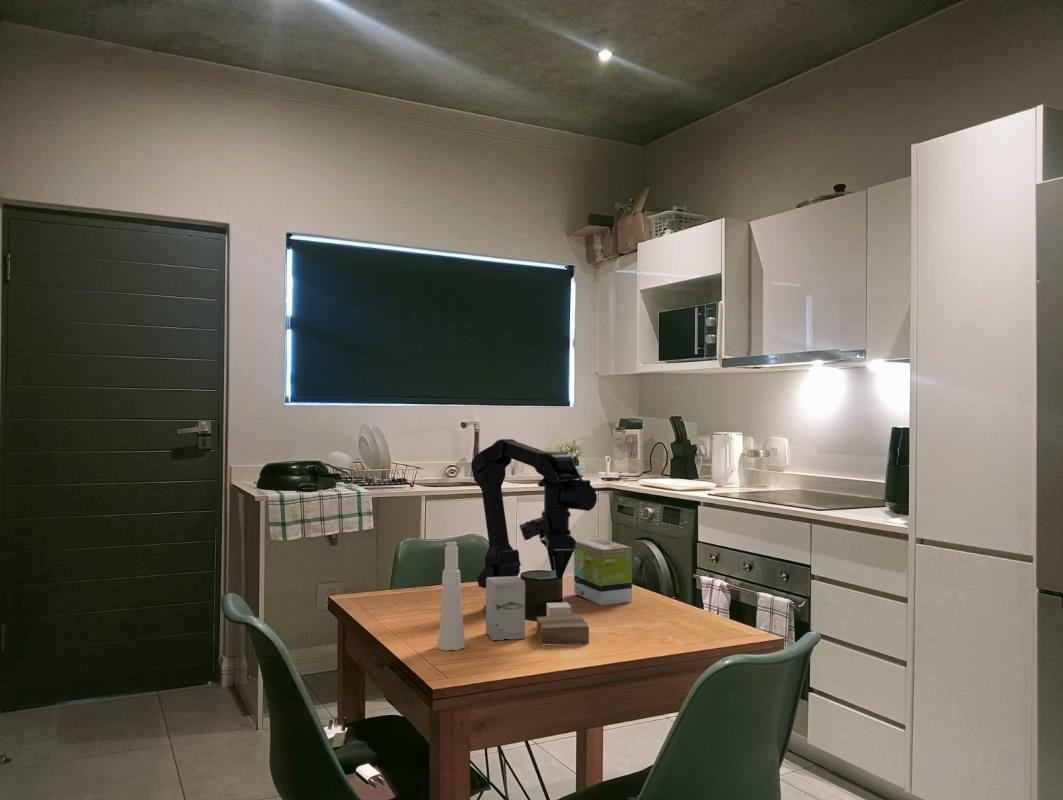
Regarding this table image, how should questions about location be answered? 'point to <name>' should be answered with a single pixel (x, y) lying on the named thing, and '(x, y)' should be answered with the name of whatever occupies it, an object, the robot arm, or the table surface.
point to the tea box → (603, 571)
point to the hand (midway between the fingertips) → (556, 574)
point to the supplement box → (505, 608)
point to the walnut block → (562, 630)
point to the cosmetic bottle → (451, 603)
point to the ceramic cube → (558, 609)
